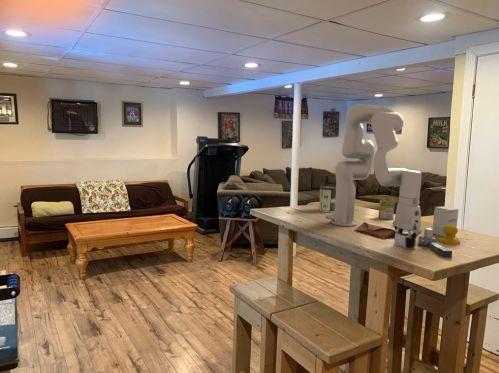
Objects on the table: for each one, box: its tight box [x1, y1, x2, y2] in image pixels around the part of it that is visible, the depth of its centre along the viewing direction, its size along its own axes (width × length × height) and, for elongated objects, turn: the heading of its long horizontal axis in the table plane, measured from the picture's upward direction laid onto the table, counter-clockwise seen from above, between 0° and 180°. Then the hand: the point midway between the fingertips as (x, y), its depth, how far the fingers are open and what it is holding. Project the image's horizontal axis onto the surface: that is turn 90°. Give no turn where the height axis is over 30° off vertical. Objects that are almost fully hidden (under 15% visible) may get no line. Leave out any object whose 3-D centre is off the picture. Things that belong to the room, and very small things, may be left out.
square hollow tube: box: [393, 232, 417, 250], centre depth 157 cm, size 6×6×5 cm
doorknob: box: [438, 225, 461, 246], centre depth 167 cm, size 8×8×8 cm
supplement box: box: [432, 206, 460, 237], centre depth 179 cm, size 7×7×13 cm
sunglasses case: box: [354, 221, 396, 241], centre depth 176 cm, size 18×7×7 cm
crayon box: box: [378, 197, 396, 220], centre depth 211 cm, size 7×3×12 cm, turn 84°
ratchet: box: [417, 227, 453, 259], centre depth 154 cm, size 7×20×7 cm, turn 179°
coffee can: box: [318, 185, 336, 213], centre depth 226 cm, size 10×10×14 cm
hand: (404, 244), depth 157 cm, fingers closed on square hollow tube, 5 cm apart
